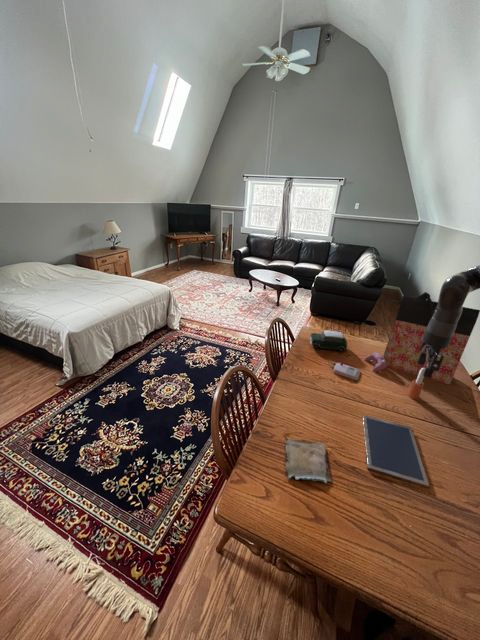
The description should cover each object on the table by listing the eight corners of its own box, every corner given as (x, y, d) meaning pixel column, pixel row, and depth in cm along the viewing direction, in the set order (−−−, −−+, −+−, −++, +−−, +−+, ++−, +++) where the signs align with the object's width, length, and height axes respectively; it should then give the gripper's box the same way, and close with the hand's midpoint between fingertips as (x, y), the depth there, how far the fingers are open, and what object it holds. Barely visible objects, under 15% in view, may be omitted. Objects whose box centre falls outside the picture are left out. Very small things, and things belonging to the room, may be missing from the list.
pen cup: (416, 395, 105) (422, 380, 102) (418, 401, 101) (425, 386, 98) (406, 393, 106) (412, 378, 103) (408, 398, 102) (414, 384, 99)
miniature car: (308, 340, 141) (311, 326, 138) (344, 344, 139) (347, 330, 135) (309, 348, 133) (312, 334, 130) (347, 353, 131) (351, 339, 127)
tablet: (410, 429, 89) (411, 427, 88) (428, 488, 71) (429, 485, 70) (362, 416, 93) (362, 414, 92) (367, 469, 75) (368, 467, 74)
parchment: (284, 478, 71) (285, 476, 71) (284, 438, 83) (284, 436, 82) (332, 486, 70) (333, 484, 69) (325, 444, 81) (325, 442, 81)
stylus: (415, 395, 104) (426, 367, 98) (416, 398, 102) (427, 370, 97) (409, 394, 104) (420, 366, 99) (410, 396, 103) (422, 369, 97)
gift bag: (446, 370, 121) (479, 298, 106) (450, 387, 110) (487, 309, 95) (376, 351, 134) (396, 283, 119) (372, 364, 123) (395, 292, 108)
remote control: (362, 382, 110) (363, 376, 109) (324, 369, 117) (325, 363, 116) (364, 374, 115) (366, 368, 114) (328, 362, 123) (329, 357, 121)
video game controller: (380, 375, 118) (391, 364, 115) (372, 371, 117) (383, 359, 114) (370, 363, 127) (380, 351, 124) (362, 359, 126) (372, 347, 123)
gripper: (460, 343, 84) (441, 384, 91) (445, 324, 96) (429, 362, 103) (433, 338, 86) (416, 379, 93) (421, 321, 98) (407, 358, 105)
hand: (423, 370), depth 98 cm, fingers open, 8 cm apart
